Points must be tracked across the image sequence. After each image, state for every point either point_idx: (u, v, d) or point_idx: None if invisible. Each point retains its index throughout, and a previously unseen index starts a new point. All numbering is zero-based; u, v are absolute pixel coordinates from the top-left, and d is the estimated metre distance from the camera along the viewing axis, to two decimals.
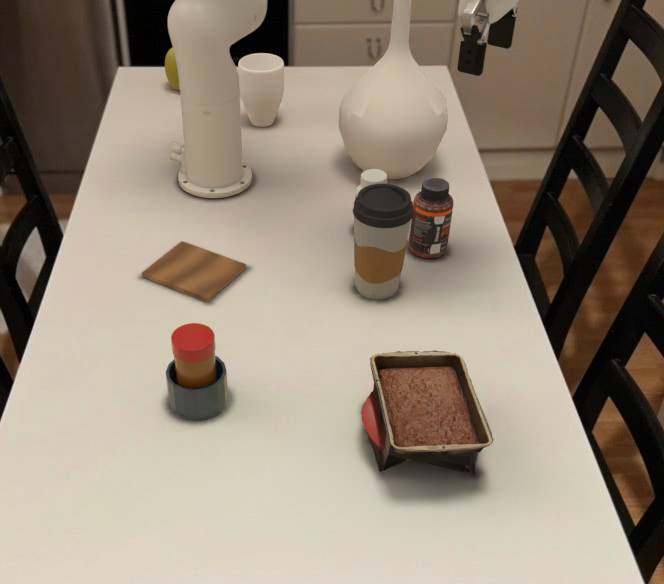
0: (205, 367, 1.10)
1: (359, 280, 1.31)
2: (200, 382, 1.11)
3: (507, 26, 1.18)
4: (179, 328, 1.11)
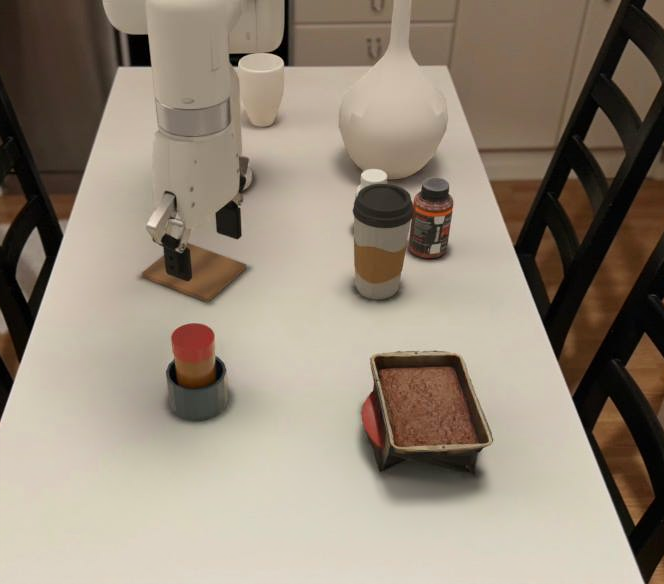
0: (205, 367, 1.10)
1: (359, 280, 1.31)
2: (200, 382, 1.11)
3: (232, 217, 1.04)
4: (179, 328, 1.11)
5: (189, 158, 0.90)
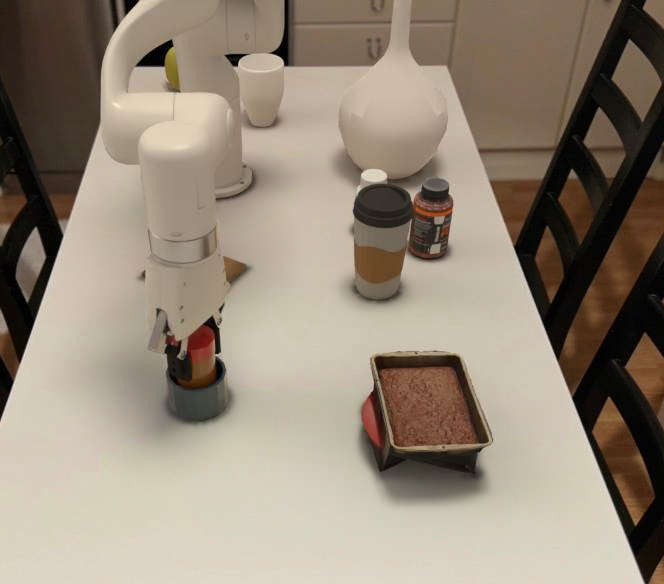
0: (205, 367, 1.10)
1: (359, 280, 1.31)
2: (200, 382, 1.11)
3: None
4: None
5: (178, 282, 0.99)
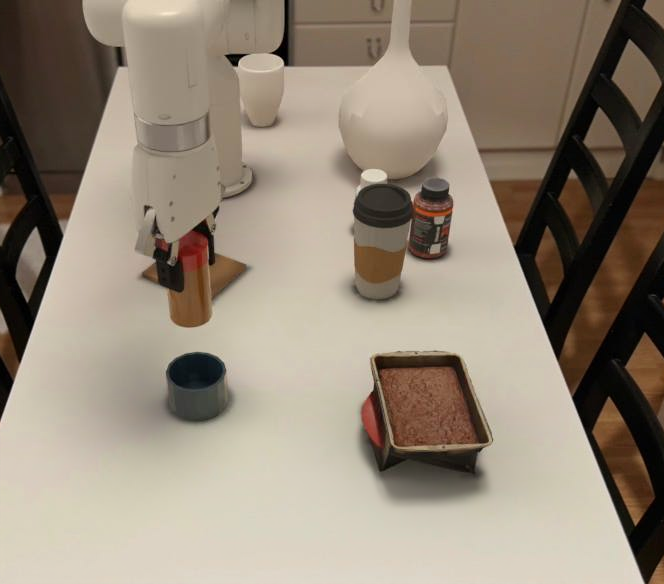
0: (198, 277, 1.02)
1: (359, 280, 1.31)
2: (192, 294, 1.03)
3: None
4: None
5: (168, 173, 0.90)
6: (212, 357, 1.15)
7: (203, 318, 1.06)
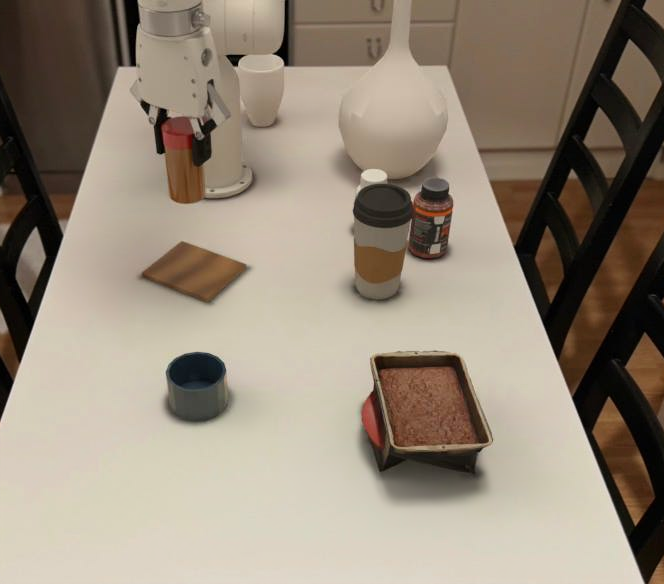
0: (166, 153, 1.18)
1: (359, 280, 1.31)
2: (166, 165, 1.21)
3: None
4: None
5: (137, 39, 1.10)
6: (212, 357, 1.15)
7: (171, 194, 1.23)
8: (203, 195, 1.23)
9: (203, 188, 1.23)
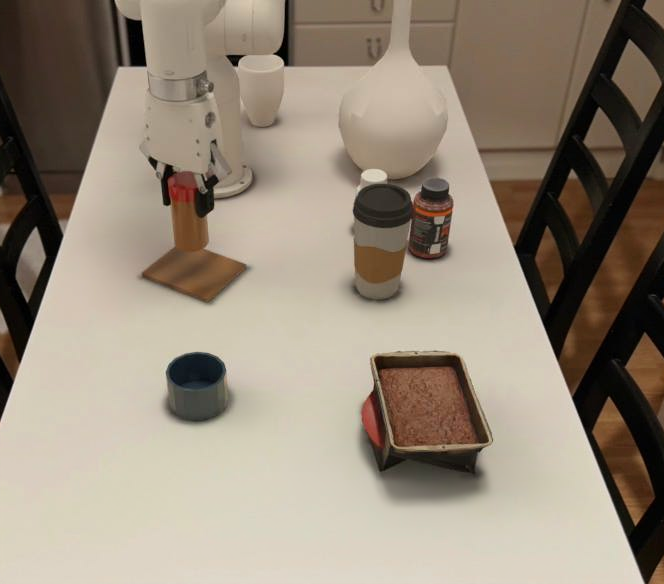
0: (172, 205, 1.27)
1: (359, 280, 1.31)
2: None
3: None
4: None
5: (146, 102, 1.19)
6: (212, 357, 1.15)
7: (176, 242, 1.31)
8: (206, 243, 1.32)
9: (206, 237, 1.31)
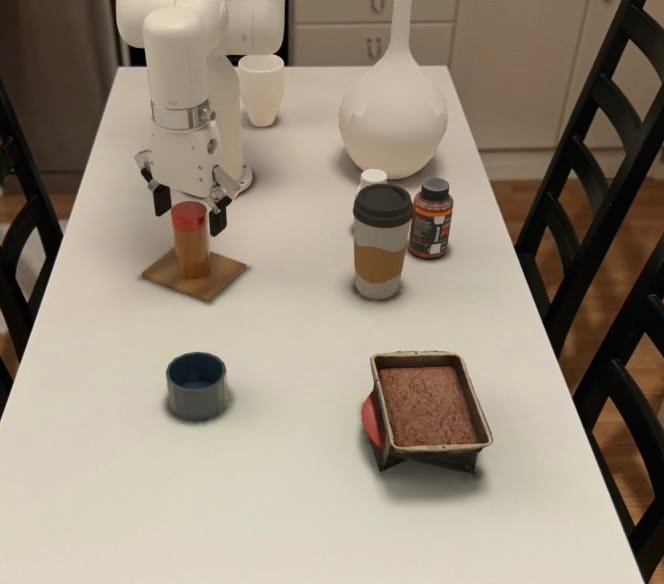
0: (175, 234, 1.31)
1: (359, 280, 1.31)
2: None
3: None
4: (200, 203, 1.31)
5: (150, 128, 1.22)
6: (212, 357, 1.15)
7: (179, 270, 1.35)
8: (208, 270, 1.35)
9: (208, 264, 1.35)
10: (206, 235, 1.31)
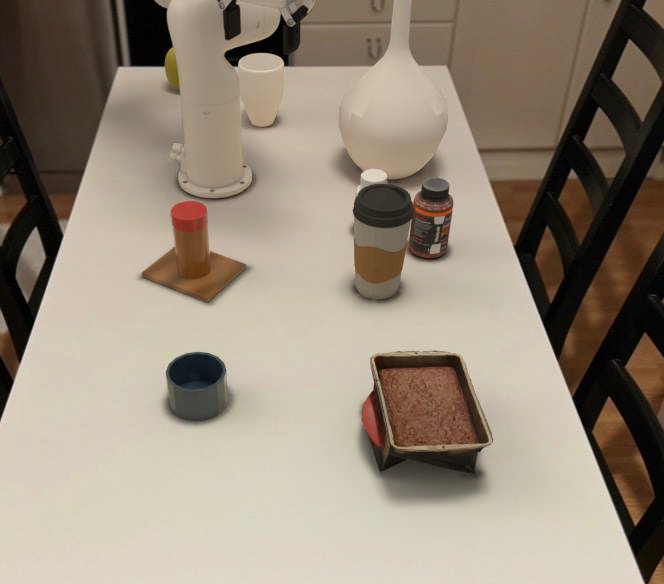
0: (175, 234, 1.31)
1: (359, 280, 1.31)
2: None
3: None
4: (200, 203, 1.31)
5: None
6: (212, 357, 1.15)
7: (179, 270, 1.35)
8: (208, 270, 1.35)
9: (208, 264, 1.35)
10: (206, 235, 1.31)
